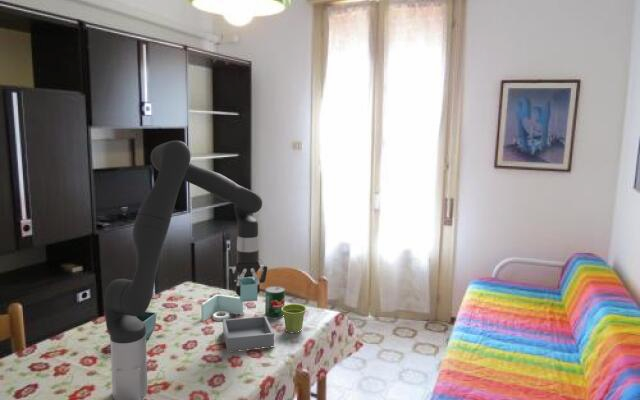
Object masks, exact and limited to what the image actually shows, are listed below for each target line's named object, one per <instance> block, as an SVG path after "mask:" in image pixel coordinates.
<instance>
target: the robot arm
mask: <svg viewBox="0 0 640 400" xmlns="http://www.w3.org/2000/svg"><path fill="white" fill-rule="evenodd" d="M191 154H192V153H191V151H190V147H188V145H187V144H186V143H185V142H184V141H181V140H171V141H170V140H169V141H167V142H164V143H161V144H159V145H157V146H155V147H154V148H153V149H152V151H151V154H150V161H151V165H152V166H153V167H154V169H156V171H158V174H157V177H156V180H155V183H154V184H153V186H152V188H151V189H150V191H149V193H148V194H147V196H146V197H145V199H143V201H142V203H141V205H140V207H139V209H138V212H137V215H136V217H135V221H134V224H133V227H132V240H133V244H134V249H135V252H136V253H135V254H136V260H137V261H136V267H135V268H136V269H135V274H134V276H133V279H132V280H131V279H127V278H116V279H114V280H112V281H110V283H109V284H108V286H107V287H106V290H105V293H104V298H103V299H104V300H103V302H104V303H103V304H104V305H103V307H104V315H105V316H104V317H105V325H106V329H107V332H108V333H109V338H110V339H109V340H110V362H111V363H110V365H111V366H110V367H111V385H112V390H111V391H112V399H113V400H142V398H144V397H145V396H146V395H147V393H148V390H149V389H148V388H149V387H148V360H147V359H148V358H147V357H148V356H147V340H146V326H145V324H144V323H143V322H142V321H141V320H139V319H138V318H137V317H136V316H140V315H142V314H143V313H144V312H145V311H146V312H147V309H148V308H149V306H150V303H151V301H152V298H153V294H154V289H155V284H156V282H155V281H156V278H157V273H158V272H157V271H158V268H159V262H160V258H161V254H162V252H163V251H162V250H163V247H164V243H165V241H166V237H167V233H168V230H169V228H170V224H171V220H172V216H173V212H174V209H175V206H176V202H177V199H178V195H179V192H180V188H181V185H182V184H183V181H184V182H187V183H190V184H191V185H194V186H196V187H198V188H200V189H202V190H204V191H206V192H208V193H210V194H211V195H213V196H215V197H217V198H218V199H221V200H223V201H224V202H227V203H231V204H233V208H234V213H235V218H236V222H237V238H236V264H235V266H228V267H227V270H228V276H229V280H230V281H229V282H230V284H231V285H234V286H235V293H236V295H237V297H239V296H240V283H241V281H242V280H243V278H249V277H254V279H255V281H256V282H257V296H258V294H259V293H260V291H261V290H260V289H261V288H260V287H261V286H260V285H261V284H262V283H263V284H264V283H265V282H266V278H267V272H268V266H267V264H260V263H259V262H260V260H259V259H260V258H259V257H260V256H259V255H260V253H259V252H260V251H259V250H260V247H259V246H260V243H259V222H258V220H257V219H256V218H255V217H254V214H256V213H258V212H259V211H261V209H262V207H263V201H262V197H261V196H260V195H259V194H257V192H255V191H252V190H250V189H248V188H245V187H244V186H241V185H239V184H238V183H236V182H235V181H234V180H232V179H230V178H228V177H226V176H225V175H224V174H221V173H218V172H215V171H213V170H210V169H208V168H204V167H201V166H198V165H197V164H194V163H193V162H191V157H192V155H191ZM259 269H260V272H261V273H260V274H261V275H260V278H258V277H259V276H258V275H257V272H258V271H259ZM236 271H237V272H238V275H237V278H236V279H235V278H234V277H235V276H234V274H235V272H236Z"/></svg>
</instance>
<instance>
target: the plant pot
mask: <svg viewBox="0 0 640 400" xmlns="http://www.w3.org/2000/svg"><path fill="white" fill-rule="evenodd" d="M282 311H283V314H284V316H283V317H284V318H283V319H284V327H285V331H286V330H287V331H289V332H294V333H297V332H298V331H300V330H301V329H302V330H303V325H304V324H303V323H304V316H305V314H306V311H307V307H306V306H305V305H303V304H300V303H289V304H284V306H283V307H282ZM302 330H301V331H302ZM287 331H286V332H287ZM301 331H300V332H301ZM289 332H288V333H289ZM298 333H299V332H298Z"/></svg>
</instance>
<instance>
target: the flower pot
mask: <svg viewBox="0 0 640 400" xmlns="http://www.w3.org/2000/svg"><path fill="white" fill-rule="evenodd" d="M136 317H137V318H138V319H139V320H141V321H142V322H143V323H144V324H145V326H146V341H147V340H148V339H150V338H151V336H152V335H153V333H154V331H155V328H156V322H157V312H153V311H147V310H146V311H145V312H144V313H143V314H142V315H140V316H136Z"/></svg>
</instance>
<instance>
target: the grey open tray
mask: <svg viewBox="0 0 640 400" xmlns="http://www.w3.org/2000/svg"><path fill="white" fill-rule="evenodd" d="M222 323H223V324H222V335H223V338H224V342H225V347H226V348H225V349H226V352H227V353H233V352H232V351H236V352H240V351H239V350H245V351H248V350H247V349H253V350H256V349H255V348H262V347H271V346H274V347H275V333H274V330H273V328H272V326H271V324H270V322H269V320H268V317H266V316H265V315H262V316H261V315H260V316H250V317H249V316H248V317H239V318H228V319H226V320H223V321H222ZM271 348H272V347H271ZM262 349H263V348H262Z"/></svg>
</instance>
